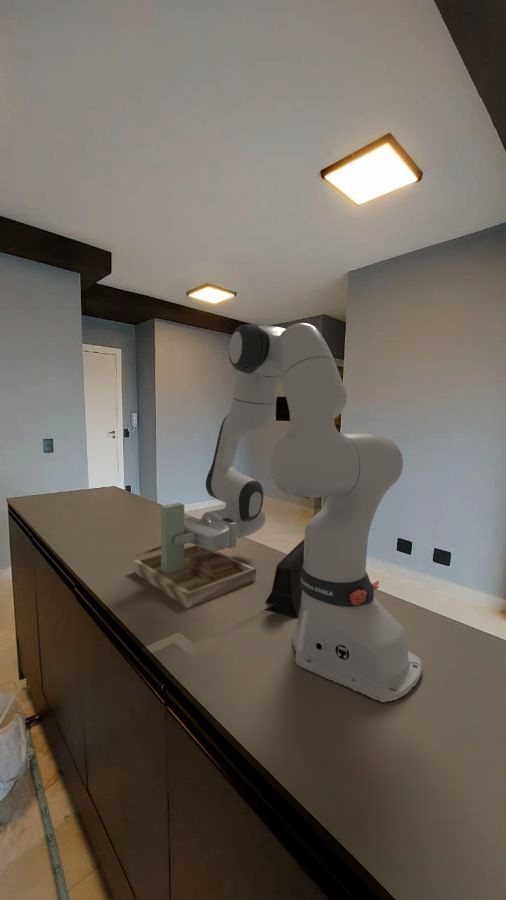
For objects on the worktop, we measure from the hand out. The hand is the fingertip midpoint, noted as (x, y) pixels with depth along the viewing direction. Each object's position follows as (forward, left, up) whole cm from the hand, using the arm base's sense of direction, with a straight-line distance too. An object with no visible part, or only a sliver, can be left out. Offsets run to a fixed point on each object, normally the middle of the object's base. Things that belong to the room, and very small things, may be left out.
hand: (169, 538), depth 90 cm
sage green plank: (0, -1, -10) cm, 10 cm away
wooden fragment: (+20, -16, -13) cm, 29 cm away
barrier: (-22, -22, -12) cm, 33 cm away
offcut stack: (-3, -10, -10) cm, 15 cm away
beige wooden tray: (-2, -6, -12) cm, 13 cm away
